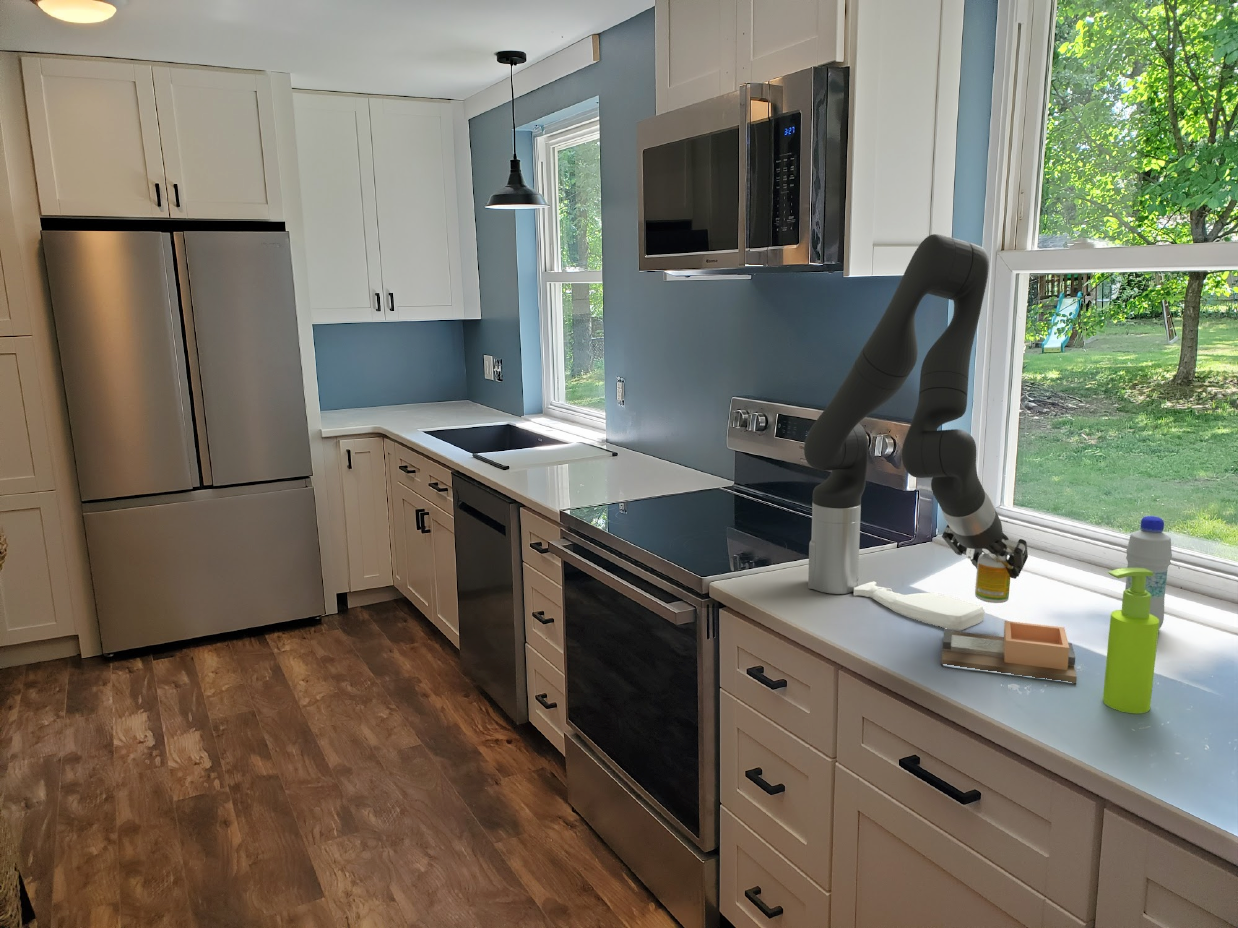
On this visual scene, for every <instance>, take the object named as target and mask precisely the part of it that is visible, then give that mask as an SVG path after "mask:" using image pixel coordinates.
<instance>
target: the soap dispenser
mask: <svg viewBox="0 0 1238 928" xmlns="http://www.w3.org/2000/svg"><path fill="white" fill-rule="evenodd" d="M1107 573H1108V574H1109V575H1111V577H1114V578H1116V579H1122V578H1126V577H1129V576H1132V580H1131V588H1129V589H1126V590H1125V589H1124V590H1123V592H1122V601H1121V609H1118V610H1117V609H1116V610H1113V611H1112V612H1111V613H1110V621H1109V629H1108V641H1107V649H1106V650H1107V652H1106V662H1105V673H1104V683H1103V684H1104V685H1103V693H1102V694H1103V696H1102V702H1103V701H1104V702H1103V703H1104V704H1105V705H1106V704H1107V705H1106V706H1107V707H1109V708H1111V709H1113V710H1115V709H1116V711H1118V710H1119V712H1121V713H1122V712H1123V713H1128V714H1134V715H1135V714H1136V715H1137V714H1138V715H1139V714H1145V713H1148V712H1149V711H1150V710H1151V704H1152V693H1153V684H1154V674H1155V666H1156V655H1157V647H1158V637H1159V630H1160V629H1159V619H1158V618H1157V617H1155V616H1153V615H1151V614H1149V613H1150V603H1151V594H1150V593H1149V592H1147V591H1146V590H1145V582H1146V576H1153V572H1151V571H1149V570H1147V569H1145V568H1127V567H1121V568H1115V569H1113V570H1109V571H1108V572H1107ZM1158 629H1159V630H1158Z"/></svg>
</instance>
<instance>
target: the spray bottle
mask: <svg viewBox="0 0 1238 928" xmlns="http://www.w3.org/2000/svg"><path fill="white" fill-rule="evenodd" d="M877 584H878V583H877V582H876V581H869V582H866V583H863V584H860V585H858V586H857V587H854V592H853V596H862V597H866V598H871V599H873V600H874V601H876V602H877V603H880V605H882V606H884V607H886V608H888V609H890V610H891V611H893V612H895V613H897V614H899V615H902V616H904V617H906V616H907V617H906V618H909V619H912V620H915V619H916V620H915V621H917V620H918V622H920V621H922V622H921V623H923V624H927V623H928V624H927V625H931V624H933V625H932V626H934V625H935V626H934V627H938V626H940V627H939V628H941V627H942V628H941V629H945V628H947V629H952V631H954V630H955V631H956V632H962V631H963V630H965V629H968V628H971V627H973V626H975V625H978V624H980V623H982V622H983V621H984V619H985V613H986V612H985V609H984V608H983V606H982V605H981V604H977V603H975V602H971V601H968V600H965V599H961V598H958V597H953V596H951V595H945V594H941V593H934V592H920V593H917V592H916V593H909V594H902V593H899V592H894V591H893V589H892V588H889V587H883V586H878V585H877Z"/></svg>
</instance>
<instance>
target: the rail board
mask: <svg viewBox="0 0 1238 928" xmlns="http://www.w3.org/2000/svg"><path fill="white" fill-rule="evenodd" d="M952 635H958V636H966V637H975V638H983V639H992V640H1000V641H1003V637H1004V636H999V635H998V636H997V635H991V634H980V633H973V632H963V631H954V630H952ZM941 664H947V665H954V666H960V667H967V668H975V669H980V670H988V671H997V672H1001V673H1011V674H1014V675H1022V676H1032V677H1035V678H1045V679H1046V678H1047V679H1052V680H1061V681H1068V682H1072V683H1076V684H1077V679H1078V675H1077V672H1076V668H1075V665H1074V666H1068V669H1067V670H1062V669H1054V668H1046V667H1038V666H1031V665H1023V664H1015V663H1007V662H1004V658H1002V657H994V656H986V655H978V654H970V653H962V652H954V651H946V650H943V649H942V654H941Z"/></svg>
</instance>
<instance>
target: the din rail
mask: <svg viewBox="0 0 1238 928" xmlns="http://www.w3.org/2000/svg"><path fill="white" fill-rule="evenodd" d="M943 629H944V630H943V640H942V651H943V650H946V651H954V652H962V653H970V654H978V655H986V656H994V657H1002V658H1004V641H1000V640H992V639H983V638H975V637H966V636H958V635H952V631H953V630H952V629H945V628H943ZM1068 644H1069V657H1068V666H1074V667H1075V665H1076V655H1075V651H1074V646H1073V643H1071V642H1068Z"/></svg>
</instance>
